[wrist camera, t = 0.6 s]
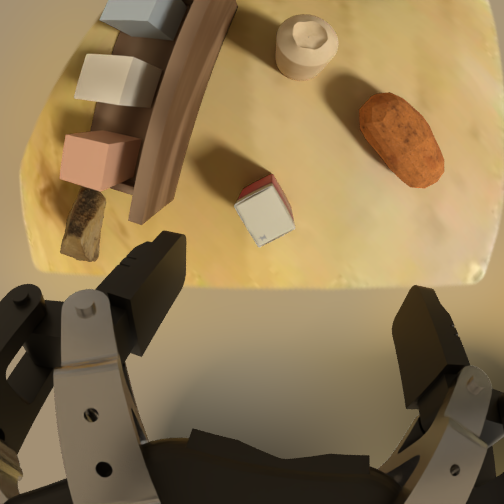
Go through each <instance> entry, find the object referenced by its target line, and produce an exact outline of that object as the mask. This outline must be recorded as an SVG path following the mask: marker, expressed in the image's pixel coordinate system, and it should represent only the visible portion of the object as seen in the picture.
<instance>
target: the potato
mask: <svg viewBox="0 0 504 504" xmlns="http://www.w3.org/2000/svg"><path fill="white" fill-rule="evenodd" d="M359 117H360V130H361V131H362V133H363V135H364V137H365V138H366V140H367V141H368V142H369V143H370V145H371V146H372V147H373V148H374V149H375V150H376V152H377V153H378V154H379V155H380V157H381V158H382V159H383V160H384V162H385V163H386V164H387V166H388V167H389V168H390V169H391V170H392V171H393V172H394V173H395V174H396V175H397V177H399V178H400V179H401V180H402V181H403V182H404V183H406V184H407V185H408V186H409V187H414V188H426V187H428V186H430V185H432V184H434V183H436V182H437V181H438V180H439V178H440V177H441V175H442V174H443V172H444V158H443V156H442V153H441V150H440V148H439V146H438V144H437V142H436V140H435V138H434V136H433V133H432V131H431V128H430V126H429V125H428V123H427V122H426V120H425V119H424V118H423V116H422V115H421V114H420V113H419V112H418V111H417V110H415V109H414V108H413V107H412V106H411V105H410V104H409V103H408V102H407V101H405V100H404V99H403V98H401V97H399V96H397V95H394V94H392V93H390V92H389V93H380V94H375V95H373V96H371V97H370V99H369V100H368V101H367V102H366V103H365V104H364V105H363V106H362V107H361V108H360V109H359Z"/></svg>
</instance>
